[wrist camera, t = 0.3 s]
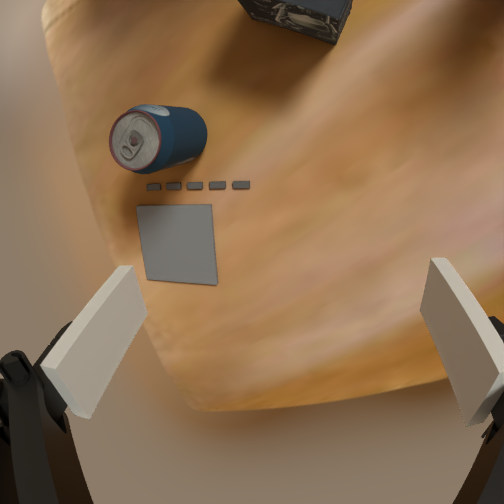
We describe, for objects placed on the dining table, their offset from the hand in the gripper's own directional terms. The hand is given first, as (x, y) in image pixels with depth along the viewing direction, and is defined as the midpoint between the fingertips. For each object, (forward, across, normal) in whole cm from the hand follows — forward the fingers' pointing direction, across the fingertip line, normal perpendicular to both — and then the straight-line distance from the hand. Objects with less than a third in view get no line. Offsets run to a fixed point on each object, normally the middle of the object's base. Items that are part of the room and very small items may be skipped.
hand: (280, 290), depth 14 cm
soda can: (+28, -12, +4) cm, 31 cm away
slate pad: (+26, -16, -10) cm, 32 cm away
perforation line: (+27, -12, -2) cm, 29 cm away
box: (+28, +3, +19) cm, 34 cm away
